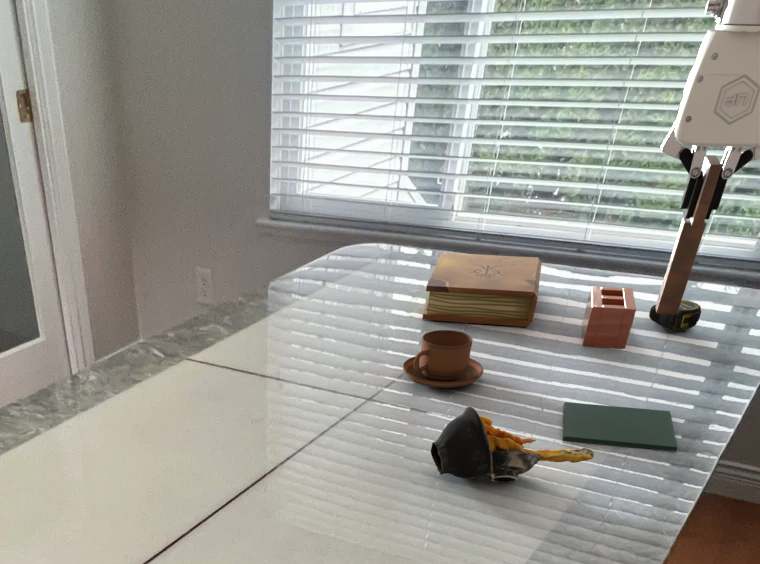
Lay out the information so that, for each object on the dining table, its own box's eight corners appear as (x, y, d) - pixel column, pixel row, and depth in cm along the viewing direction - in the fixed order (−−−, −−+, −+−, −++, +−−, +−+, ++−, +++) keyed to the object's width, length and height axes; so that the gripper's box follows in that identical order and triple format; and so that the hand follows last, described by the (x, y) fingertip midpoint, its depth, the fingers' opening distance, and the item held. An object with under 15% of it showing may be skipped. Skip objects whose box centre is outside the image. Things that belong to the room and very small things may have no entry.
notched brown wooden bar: (674, 304, 107) (721, 155, 97) (678, 319, 103) (728, 165, 92) (654, 303, 108) (699, 155, 97) (657, 317, 104) (704, 164, 93)
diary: (531, 328, 145) (538, 292, 141) (422, 320, 150) (426, 285, 146) (536, 289, 161) (543, 256, 158) (437, 284, 166) (441, 251, 162)
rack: (622, 326, 145) (632, 288, 141) (625, 348, 137) (636, 309, 133) (582, 323, 147) (591, 286, 143) (582, 345, 138) (592, 306, 134)
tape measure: (644, 323, 146) (650, 300, 143) (680, 319, 146) (687, 296, 144) (666, 336, 141) (673, 312, 138) (703, 332, 141) (711, 308, 139)
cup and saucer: (460, 401, 123) (467, 357, 119) (387, 384, 128) (391, 342, 124) (494, 375, 130) (502, 333, 126) (423, 360, 135) (429, 320, 131)
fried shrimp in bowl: (417, 423, 106) (558, 367, 104) (441, 506, 110) (578, 455, 107) (432, 424, 98) (586, 364, 95) (457, 515, 101) (607, 459, 98)
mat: (668, 415, 117) (670, 411, 117) (675, 451, 109) (677, 447, 108) (563, 405, 121) (564, 401, 120) (562, 440, 112) (563, 436, 112)
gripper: (681, 14, 85) (626, 221, 98) (853, 12, 82) (774, 227, 94) (675, 11, 91) (624, 207, 103) (837, 8, 87) (763, 212, 99)
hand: (696, 215), depth 98 cm, fingers closed on notched brown wooden bar, 1 cm apart
